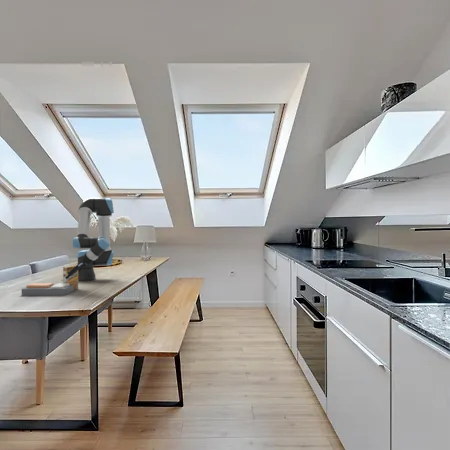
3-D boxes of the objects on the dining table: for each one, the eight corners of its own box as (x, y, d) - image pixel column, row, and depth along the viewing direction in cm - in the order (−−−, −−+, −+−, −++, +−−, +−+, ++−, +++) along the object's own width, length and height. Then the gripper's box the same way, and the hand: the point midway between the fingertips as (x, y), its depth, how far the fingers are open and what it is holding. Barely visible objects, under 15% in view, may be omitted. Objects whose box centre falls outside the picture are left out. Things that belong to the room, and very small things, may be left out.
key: (33, 287, 225) (33, 283, 225) (53, 287, 226) (53, 283, 226) (26, 289, 217) (26, 285, 217) (47, 289, 218) (47, 285, 218)
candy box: (66, 290, 230) (66, 267, 230) (62, 289, 233) (62, 266, 233) (78, 288, 238) (78, 266, 238) (74, 287, 240) (75, 265, 240)
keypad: (32, 290, 228) (32, 282, 228) (73, 290, 229) (73, 282, 229) (21, 295, 214) (21, 286, 214) (64, 295, 215) (64, 286, 215)
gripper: (88, 262, 225) (63, 287, 224) (99, 259, 247) (76, 281, 246) (80, 254, 225) (54, 279, 224) (91, 251, 246) (68, 274, 246)
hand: (66, 280), depth 235 cm, fingers closed on candy box, 9 cm apart
